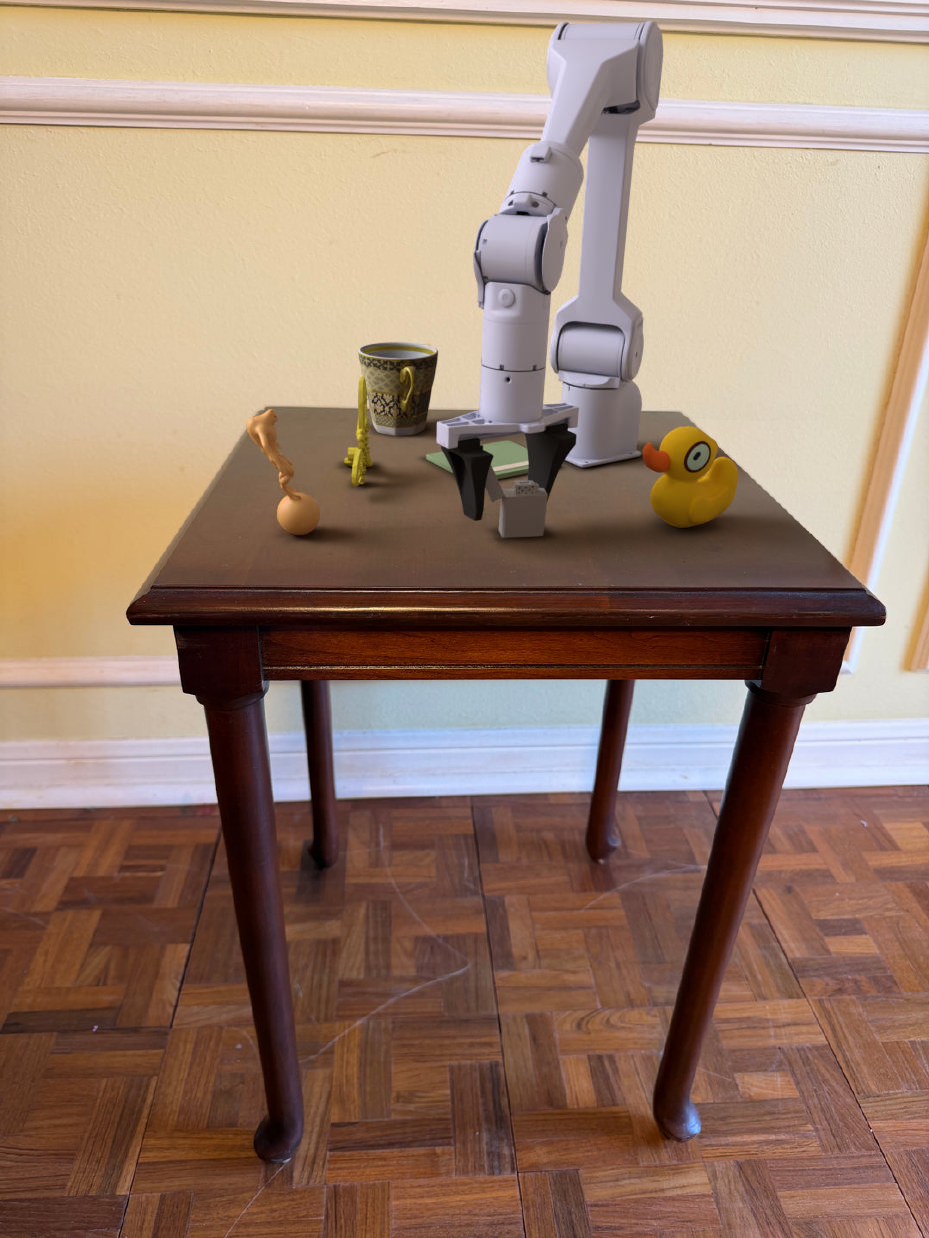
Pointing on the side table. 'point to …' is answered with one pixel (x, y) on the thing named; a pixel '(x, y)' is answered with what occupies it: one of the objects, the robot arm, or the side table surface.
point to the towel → (495, 459)
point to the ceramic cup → (398, 385)
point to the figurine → (284, 478)
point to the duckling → (690, 478)
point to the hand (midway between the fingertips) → (505, 509)
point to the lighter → (519, 507)
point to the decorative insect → (360, 440)
